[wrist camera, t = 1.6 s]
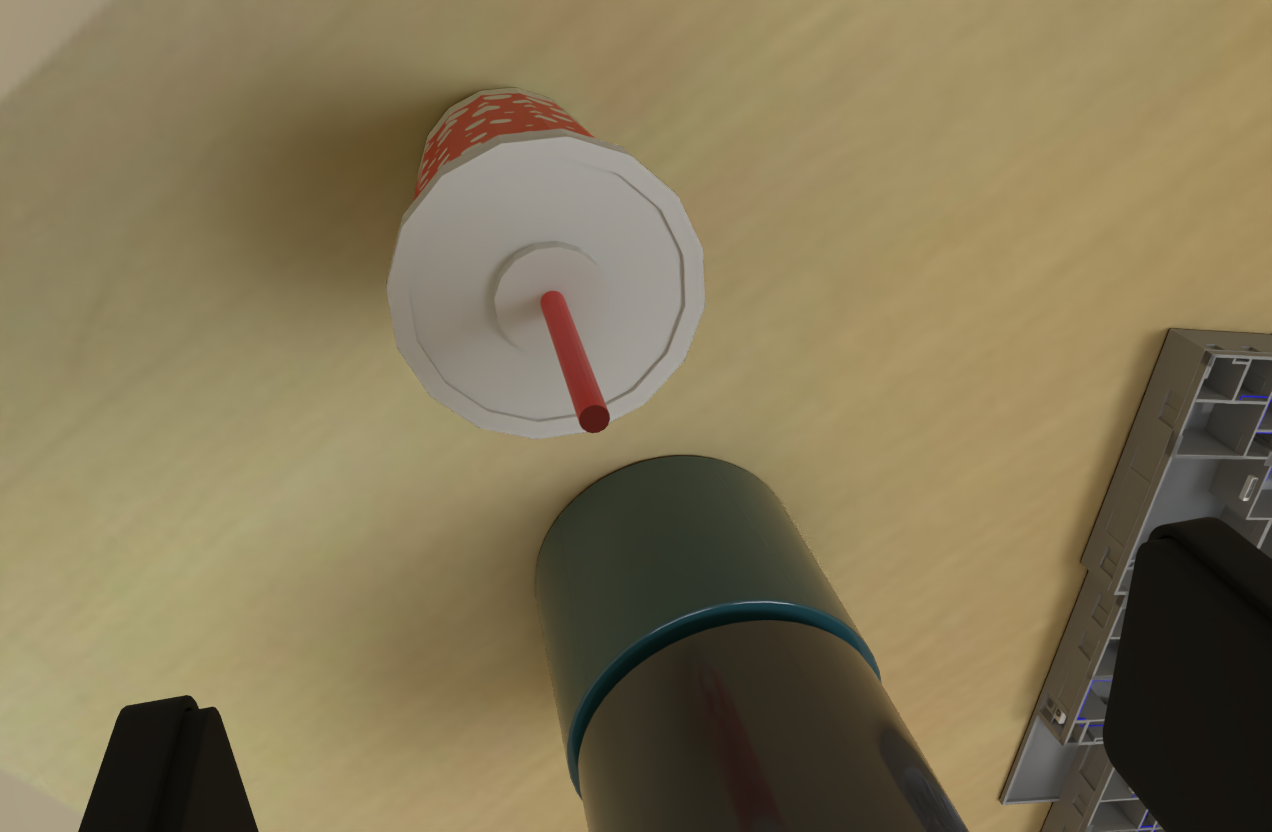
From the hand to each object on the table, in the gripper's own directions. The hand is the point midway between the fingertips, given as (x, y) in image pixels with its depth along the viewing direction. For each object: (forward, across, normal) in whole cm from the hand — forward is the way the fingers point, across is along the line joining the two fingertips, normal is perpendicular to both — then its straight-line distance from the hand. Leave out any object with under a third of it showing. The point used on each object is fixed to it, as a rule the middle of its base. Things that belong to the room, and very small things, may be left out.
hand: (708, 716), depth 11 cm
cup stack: (+20, -3, +13) cm, 24 cm away
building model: (+21, -27, +21) cm, 40 cm away
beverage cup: (+20, 0, 0) cm, 20 cm away
